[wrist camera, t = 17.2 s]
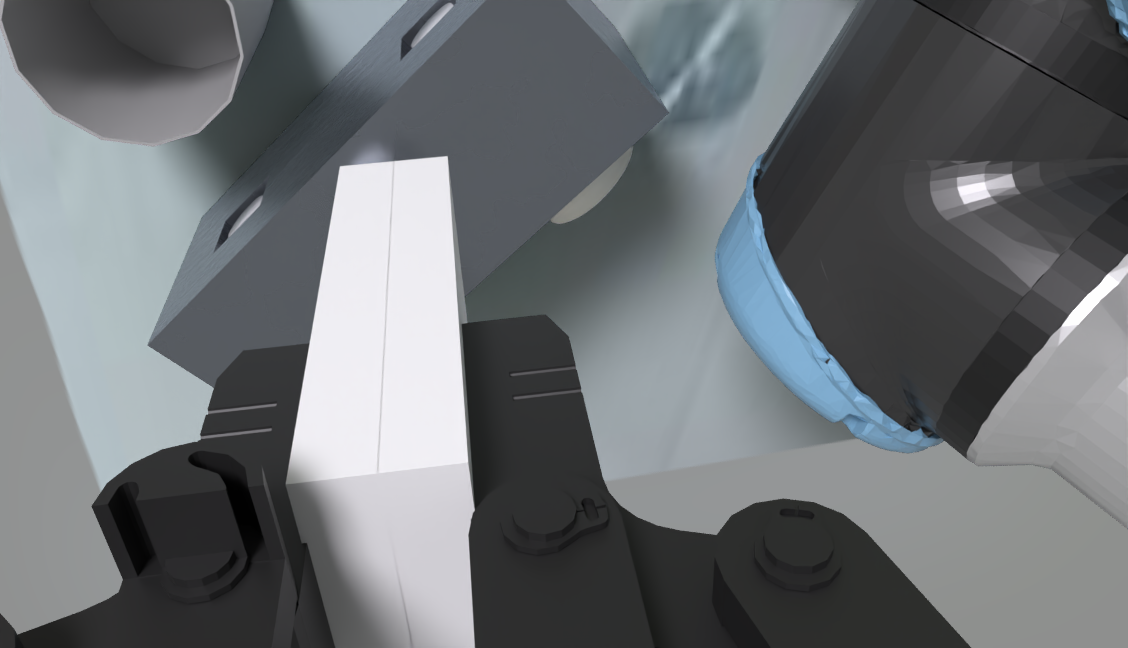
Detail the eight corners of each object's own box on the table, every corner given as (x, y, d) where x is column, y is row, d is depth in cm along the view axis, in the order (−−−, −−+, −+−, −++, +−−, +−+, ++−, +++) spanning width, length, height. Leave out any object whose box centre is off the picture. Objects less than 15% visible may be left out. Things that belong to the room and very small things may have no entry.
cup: (289, 61, 46) (261, 138, 38) (112, 72, 45) (43, 154, 37) (253, -131, 42) (212, -91, 33) (56, -122, 41) (-37, -79, 32)
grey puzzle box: (615, 27, 47) (668, 112, 37) (323, 306, 54) (301, 443, 44) (501, -99, 43) (526, -42, 33) (201, 217, 50) (147, 344, 40)
